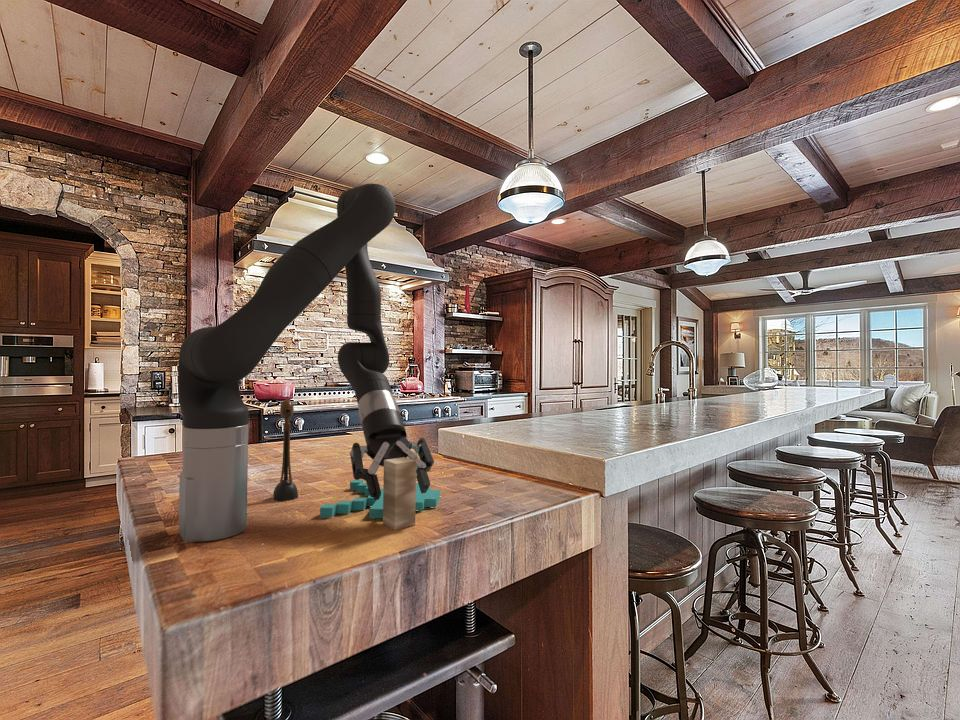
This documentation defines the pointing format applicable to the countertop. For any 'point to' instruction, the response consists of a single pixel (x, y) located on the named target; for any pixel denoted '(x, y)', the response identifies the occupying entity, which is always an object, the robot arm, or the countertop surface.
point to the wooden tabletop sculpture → (286, 459)
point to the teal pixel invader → (376, 501)
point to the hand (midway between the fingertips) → (402, 494)
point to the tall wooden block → (399, 493)
